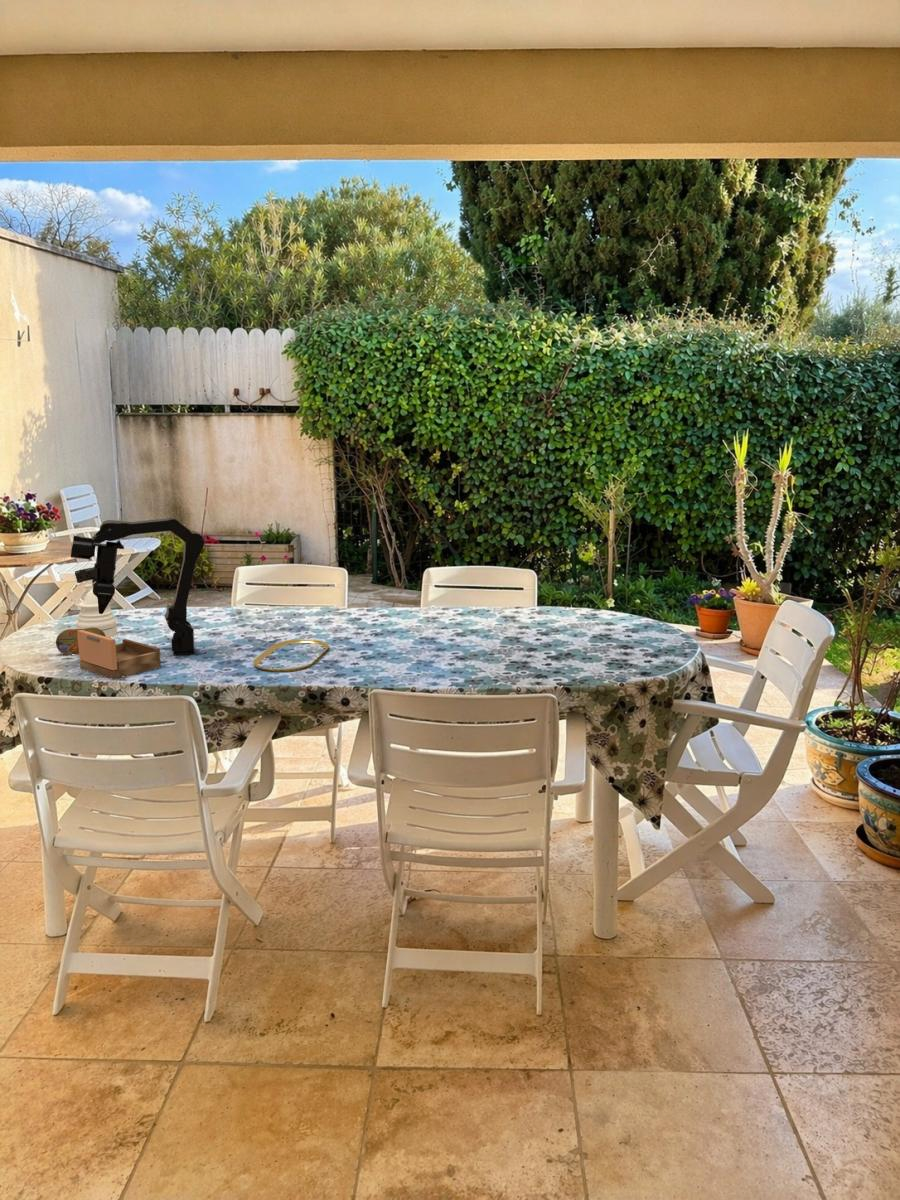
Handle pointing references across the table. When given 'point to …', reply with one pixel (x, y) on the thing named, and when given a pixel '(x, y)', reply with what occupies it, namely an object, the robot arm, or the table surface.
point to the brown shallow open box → (128, 660)
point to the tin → (72, 640)
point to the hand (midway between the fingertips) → (100, 610)
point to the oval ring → (275, 646)
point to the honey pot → (96, 615)
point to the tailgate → (97, 649)
